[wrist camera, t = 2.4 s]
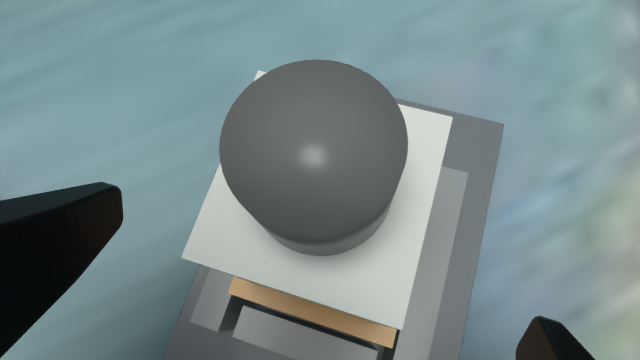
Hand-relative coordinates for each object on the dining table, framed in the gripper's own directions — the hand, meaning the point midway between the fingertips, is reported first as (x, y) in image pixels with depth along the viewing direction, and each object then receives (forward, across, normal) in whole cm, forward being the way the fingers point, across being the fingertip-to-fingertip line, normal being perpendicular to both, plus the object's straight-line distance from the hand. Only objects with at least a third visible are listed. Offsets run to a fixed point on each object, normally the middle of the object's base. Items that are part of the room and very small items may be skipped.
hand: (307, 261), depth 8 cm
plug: (+7, 0, +5) cm, 9 cm away
